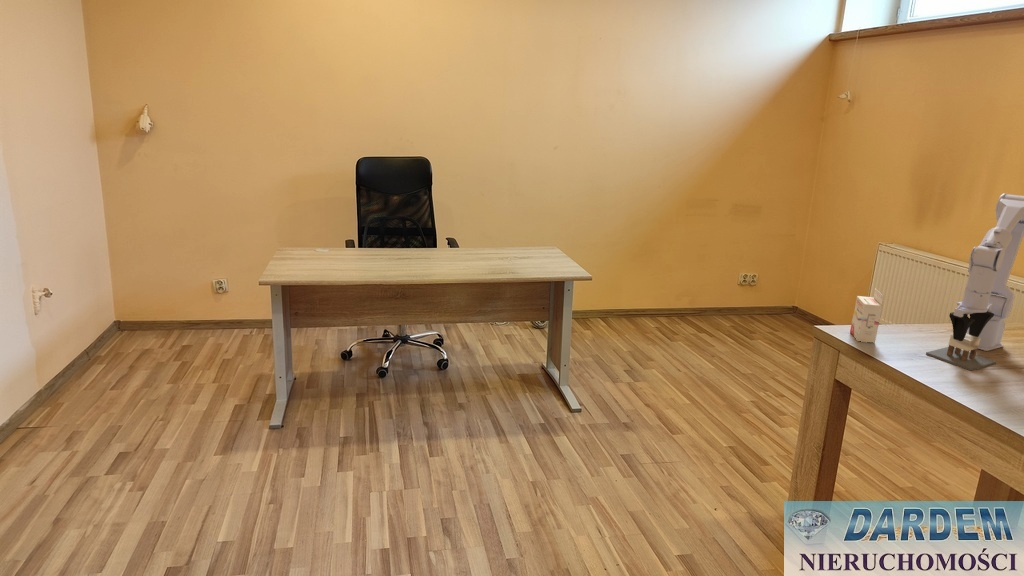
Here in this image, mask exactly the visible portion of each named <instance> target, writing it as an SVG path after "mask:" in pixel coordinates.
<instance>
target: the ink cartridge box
mask: <svg viewBox="0 0 1024 576" xmlns="http://www.w3.org/2000/svg"><path fill="white" fill-rule="evenodd" d="M883 303H884V295H883V294H882V293H881V291H880V290H878V289H877V288H876V287H875V288H874V291H873V296H864V295H862V296H861V295H856V299H855V304H854V305H855V306H854V310H853V315H852V320H851V324H850V330H849V332H850V334H851V335H852V337H853V338H854V339H855V338H856V339H855V340H856V341H857V342H858V341H861V343H867V342H873V343H872V344H875V343H876V339H877V335H878V329H879V325H880V320H881V315H882V312H883Z"/></svg>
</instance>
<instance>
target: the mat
mask: <svg viewBox="0 0 1024 576" xmlns="http://www.w3.org/2000/svg"><path fill="white" fill-rule="evenodd" d="M948 347H949V346H945V347H943V348H942V347H941V348H938V349H934V350H931V351H930V350H929V351H927V352H926V353H925V355H926V356H929V357H932V358H934V359H937V360H941V361H943V362H946V363H949V364H951V365H954V366H957V367H960V368H962V369H965V370H968V371H975V370H979V369H981V368H986V367H989V366H992V364H993V365H996V364H997V361H996V360H993V359H990V358H987V357H984V356H982V355H978V354H976V355H975V359H971V358H969V355H970V351H969V354H968V358H967V361H963V360H961V358H962V354H963V350H962V349H961V352H960V354H956V353H955V349H956V347H954V351H953V355H952V356H948V355H947V351H948ZM985 366H986V367H985ZM978 368H979V369H978Z"/></svg>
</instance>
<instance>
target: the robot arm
mask: <svg viewBox="0 0 1024 576" xmlns="http://www.w3.org/2000/svg"><path fill="white" fill-rule="evenodd" d="M995 215H996V218H995V219H996V221H997V223H996V225H995V226H994V227H992V228H990V229H989V230H987V231H986V234H985V235H984V237H983V239H982V240H981V242H980V244H979V245H978V246H974V247H973V248H972V250H971V253H970V255H969V261H968V264H969V265H968V270H967V273H968V277H967V280H966V285H965V288H964V292H963V297H962V300H961V301H957V302H956V306H957V307H955V308H954V311H953V312H950V313H949V314H948V315H949V316H948V317H949V319H950V322H951V324H952V334H953V338H954V339H955V340H958V341H963V340H964V338H965V335H966V334H969V335H972V336H975V337H978V338H981V339H980V343H979V346H978V349H977V350H981V351H985V352H988V351H992V350H996V349H999V348H1003V347H1005V346H1004V344H1001V342H1002V339H1003V335H1004V332H1005V328H1006V322H1005V320H1006V319H1008V318H1009V316H1010V314H1011V313H1012V310H1013V306H1014V300H1015V294H1014V292H1013V291H1012V290H1011V289H1010V288H1009V287H1008V286H1007V284H1008V281H1009V278H1010V275H1011V273H1012V270H1013V267H1014V264H1015V261H1016V258H1017V255H1018V252H1019V251H1020V246H1021V244H1022V241H1023V239H1024V195H1017V194H1009V193H1006V192H1005V193H1002V194H1001V195H1000V196H999V198H998V199H997V202H996V205H995Z"/></svg>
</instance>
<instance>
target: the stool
mask: <svg viewBox="0 0 1024 576" xmlns="http://www.w3.org/2000/svg"><path fill="white" fill-rule="evenodd" d="M980 339H981V338H978V337H975V336H972V335H969V334H966V335H965V338H964V340H963V341H958V340H955V339H954V338H953V333H952V334H951V335H950V337H949V342H948V346H947V347H948V351H947V355H948V356H952V355H953V351H954V347H955V348H956V349H955V353H956V354H960V352H961V350H963V354H962V358H961V360H963V361H967V358H968V354H969V352H970V355H969V358H971V359H975V355H977V352H978V350H979V349H978V346H979V343H980Z"/></svg>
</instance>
